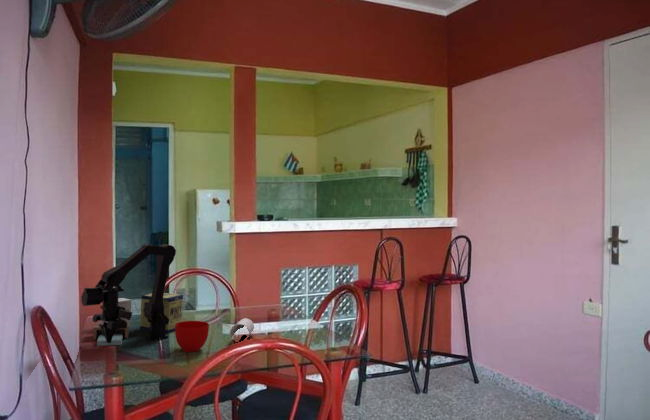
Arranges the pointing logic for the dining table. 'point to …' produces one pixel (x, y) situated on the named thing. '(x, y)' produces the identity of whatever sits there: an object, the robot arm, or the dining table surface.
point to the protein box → (165, 310)
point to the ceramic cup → (191, 335)
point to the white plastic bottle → (241, 324)
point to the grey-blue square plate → (115, 340)
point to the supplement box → (125, 306)
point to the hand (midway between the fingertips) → (108, 342)
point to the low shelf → (125, 331)
